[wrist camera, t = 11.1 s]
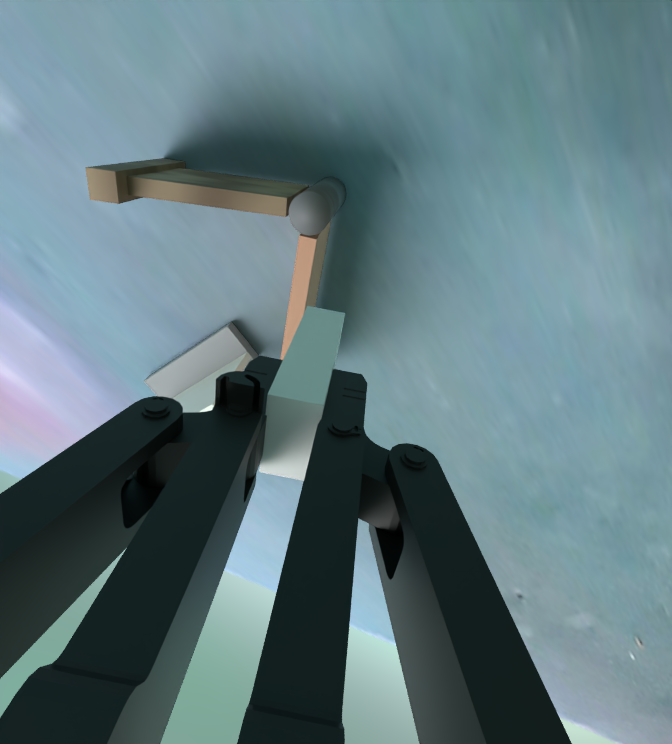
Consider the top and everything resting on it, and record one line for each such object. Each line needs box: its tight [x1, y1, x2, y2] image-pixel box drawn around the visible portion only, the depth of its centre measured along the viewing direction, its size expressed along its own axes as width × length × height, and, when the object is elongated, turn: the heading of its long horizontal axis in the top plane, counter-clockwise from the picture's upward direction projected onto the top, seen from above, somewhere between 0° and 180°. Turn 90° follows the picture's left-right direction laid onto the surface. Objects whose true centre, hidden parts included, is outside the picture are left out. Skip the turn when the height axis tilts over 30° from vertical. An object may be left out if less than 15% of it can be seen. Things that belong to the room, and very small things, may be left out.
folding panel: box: [280, 221, 331, 360], centre depth 35 cm, size 14×2×8 cm, turn 169°
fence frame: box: [85, 158, 346, 235], centre depth 31 cm, size 15×2×10 cm, turn 84°
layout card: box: [144, 322, 258, 412], centre depth 39 cm, size 11×4×10 cm, turn 124°
